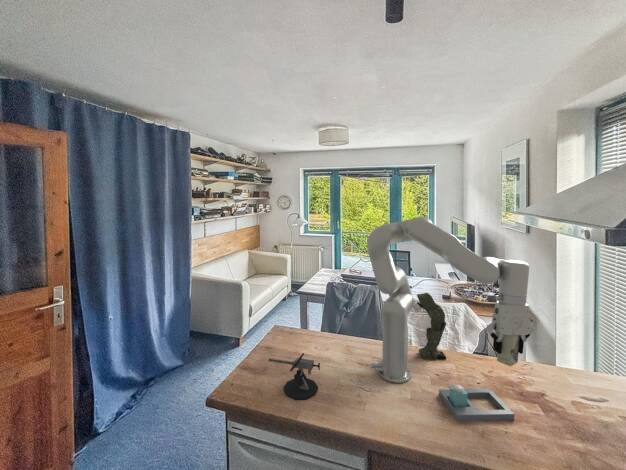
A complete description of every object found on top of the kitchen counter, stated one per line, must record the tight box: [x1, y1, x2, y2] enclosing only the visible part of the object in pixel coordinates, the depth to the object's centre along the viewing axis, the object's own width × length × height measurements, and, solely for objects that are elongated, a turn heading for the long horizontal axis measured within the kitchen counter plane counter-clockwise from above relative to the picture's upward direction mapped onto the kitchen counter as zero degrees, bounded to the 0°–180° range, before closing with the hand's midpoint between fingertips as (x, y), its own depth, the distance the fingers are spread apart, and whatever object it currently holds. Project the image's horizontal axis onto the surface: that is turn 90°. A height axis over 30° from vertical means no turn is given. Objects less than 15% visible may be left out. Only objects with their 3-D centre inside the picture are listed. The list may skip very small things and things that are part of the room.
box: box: [496, 328, 520, 367], centre depth 99 cm, size 5×4×13 cm
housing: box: [438, 388, 515, 422], centre depth 101 cm, size 18×13×2 cm
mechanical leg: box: [416, 292, 447, 361], centre depth 133 cm, size 14×7×30 cm, turn 84°
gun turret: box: [268, 352, 321, 401], centre depth 111 cm, size 13×20×13 cm, turn 73°
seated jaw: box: [449, 384, 469, 407], centre depth 100 cm, size 4×4×7 cm
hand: (507, 351), depth 99 cm, fingers closed on box, 6 cm apart
